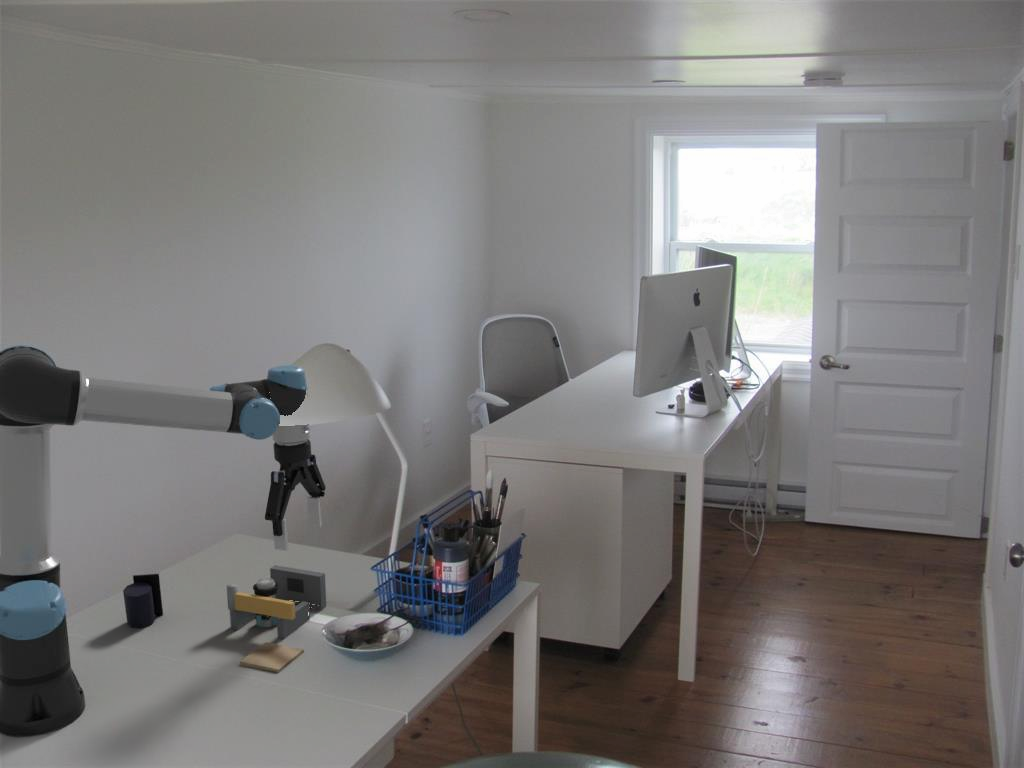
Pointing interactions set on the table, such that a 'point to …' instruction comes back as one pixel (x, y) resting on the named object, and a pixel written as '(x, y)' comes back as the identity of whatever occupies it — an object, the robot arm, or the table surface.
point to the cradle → (290, 598)
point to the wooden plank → (259, 604)
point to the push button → (266, 589)
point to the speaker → (143, 600)
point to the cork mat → (271, 657)
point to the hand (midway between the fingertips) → (299, 537)
